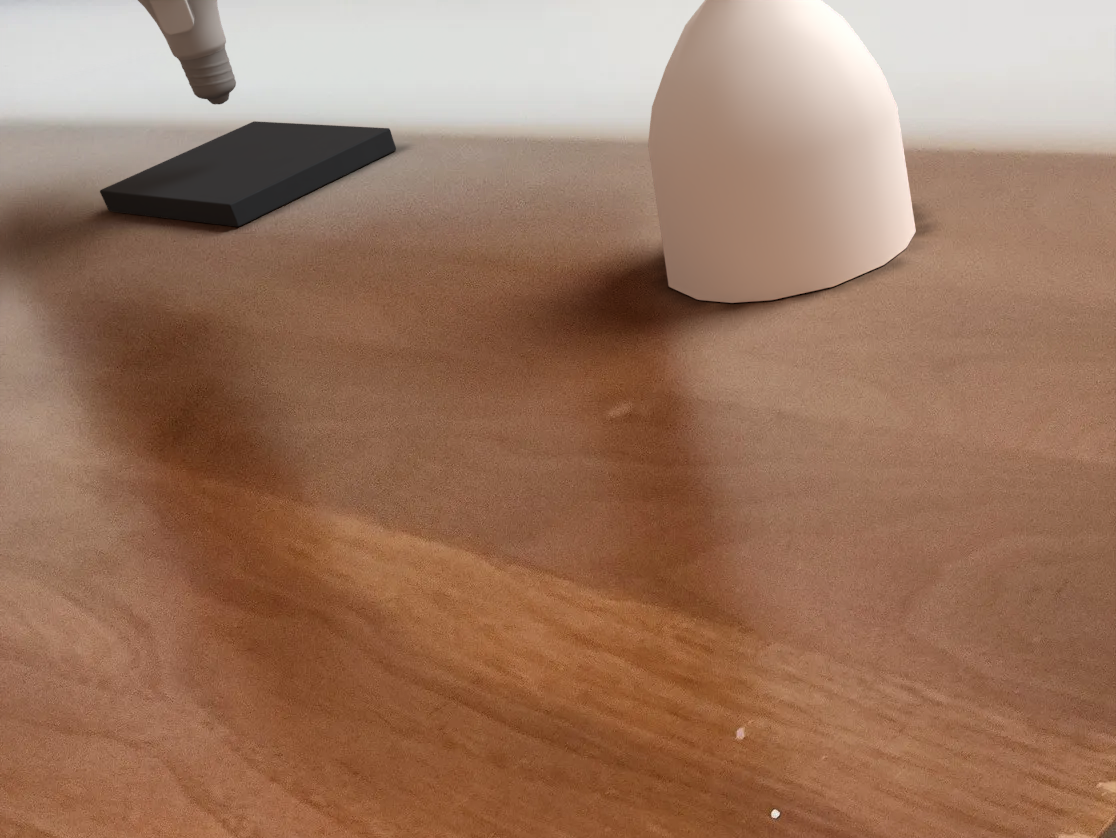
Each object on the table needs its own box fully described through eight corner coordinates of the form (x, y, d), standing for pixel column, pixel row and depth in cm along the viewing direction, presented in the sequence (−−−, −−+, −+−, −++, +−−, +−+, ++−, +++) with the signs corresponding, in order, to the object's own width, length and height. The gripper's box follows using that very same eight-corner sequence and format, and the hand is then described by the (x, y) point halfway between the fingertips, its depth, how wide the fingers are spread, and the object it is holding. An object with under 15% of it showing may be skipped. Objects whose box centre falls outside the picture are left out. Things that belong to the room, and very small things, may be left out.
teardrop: (859, 182, 67) (823, -140, 58) (958, 247, 59) (933, -114, 50) (635, 251, 66) (565, -67, 57) (705, 326, 58) (637, -29, 49)
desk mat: (108, 211, 88) (98, 190, 87) (261, 141, 93) (254, 120, 92) (238, 227, 80) (229, 204, 79) (397, 150, 86) (390, 127, 85)
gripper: (39, -301, 78) (157, -2, 88) (-47, -281, 64) (106, 74, 74) (150, -330, 78) (257, -28, 88) (90, -316, 64) (225, 43, 74)
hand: (188, 19), depth 81 cm, fingers closed on lightbulb, 5 cm apart
